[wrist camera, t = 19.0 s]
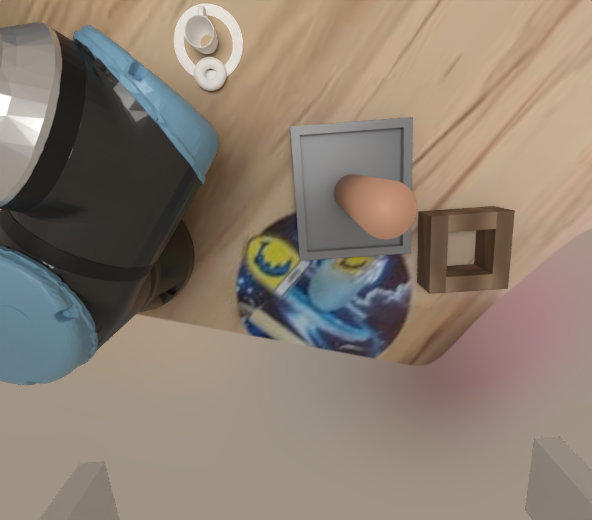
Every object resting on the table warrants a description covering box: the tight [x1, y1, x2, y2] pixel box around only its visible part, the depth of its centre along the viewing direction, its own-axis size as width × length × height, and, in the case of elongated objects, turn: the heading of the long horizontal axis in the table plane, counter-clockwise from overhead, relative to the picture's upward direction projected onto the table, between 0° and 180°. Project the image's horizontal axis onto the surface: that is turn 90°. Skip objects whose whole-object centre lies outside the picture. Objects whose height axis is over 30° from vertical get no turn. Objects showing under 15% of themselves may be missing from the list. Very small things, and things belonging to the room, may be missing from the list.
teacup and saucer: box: [174, 4, 243, 91], centre depth 39 cm, size 9×8×4 cm
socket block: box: [417, 206, 515, 294], centre depth 44 cm, size 10×10×4 cm
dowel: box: [334, 174, 417, 239], centre depth 35 cm, size 4×4×18 cm
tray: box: [290, 117, 413, 261], centre depth 43 cm, size 14×16×2 cm
